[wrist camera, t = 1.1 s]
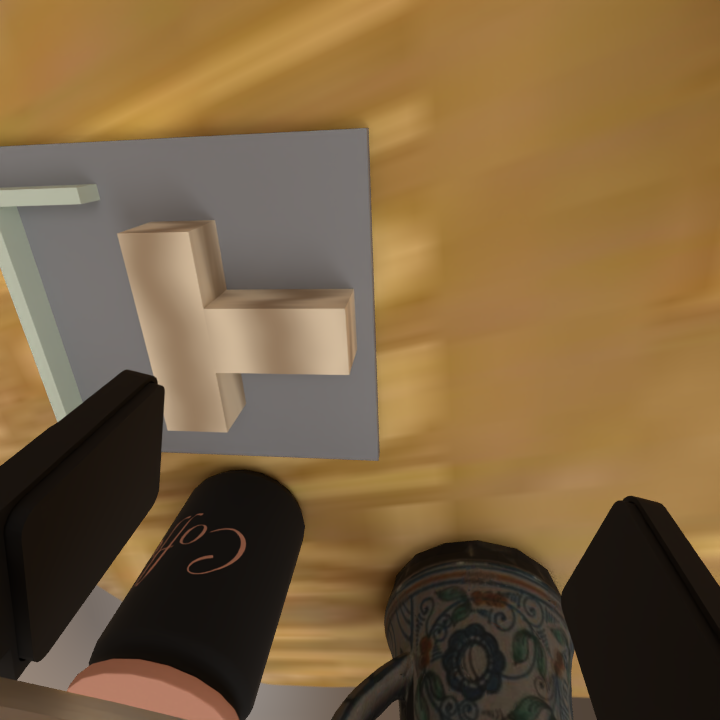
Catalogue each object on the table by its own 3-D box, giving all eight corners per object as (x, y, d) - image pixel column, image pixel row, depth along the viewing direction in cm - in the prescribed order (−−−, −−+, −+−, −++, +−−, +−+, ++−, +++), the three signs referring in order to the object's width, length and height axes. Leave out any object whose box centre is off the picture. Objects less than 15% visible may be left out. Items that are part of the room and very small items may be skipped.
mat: (368, 128, 29) (362, 128, 27) (379, 453, 40) (376, 476, 37) (-15, 147, 33) (-54, 149, 30) (87, 442, 43) (65, 463, 40)
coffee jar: (281, 453, 41) (187, 666, 25) (324, 545, 45) (267, 779, 29) (174, 475, 43) (25, 680, 27) (223, 560, 47) (119, 782, 31)
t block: (350, 216, 31) (340, 228, 27) (360, 406, 37) (352, 436, 33) (151, 221, 32) (117, 233, 29) (191, 402, 38) (167, 430, 35)
